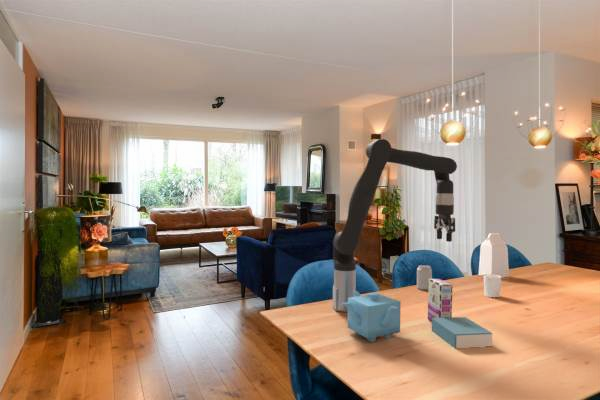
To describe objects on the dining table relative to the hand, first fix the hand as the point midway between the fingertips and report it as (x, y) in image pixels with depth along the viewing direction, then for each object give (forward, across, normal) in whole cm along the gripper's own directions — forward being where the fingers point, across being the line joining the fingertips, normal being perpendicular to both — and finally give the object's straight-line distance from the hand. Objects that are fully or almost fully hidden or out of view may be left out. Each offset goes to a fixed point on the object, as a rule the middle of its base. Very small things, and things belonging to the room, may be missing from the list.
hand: (444, 240), depth 172 cm
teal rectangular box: (+30, +37, -13) cm, 49 cm away
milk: (+30, -54, +61) cm, 87 cm away
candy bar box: (+30, +22, -13) cm, 39 cm away
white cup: (+30, -13, +32) cm, 45 cm away
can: (+30, -30, +5) cm, 42 cm away
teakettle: (+30, +31, -43) cm, 61 cm away
